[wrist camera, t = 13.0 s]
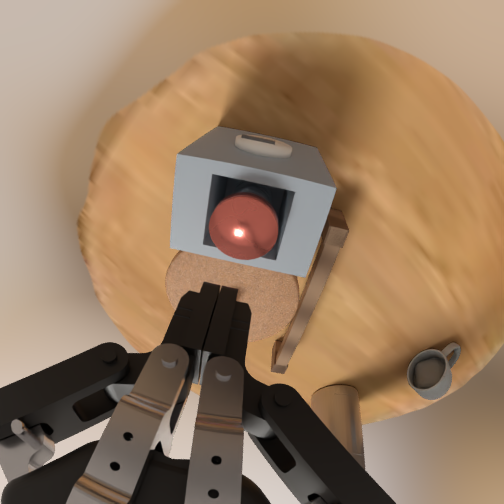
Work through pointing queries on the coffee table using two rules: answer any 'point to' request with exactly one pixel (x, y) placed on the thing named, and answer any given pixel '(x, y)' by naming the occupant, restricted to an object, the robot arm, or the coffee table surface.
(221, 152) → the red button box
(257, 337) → the lidded bowl
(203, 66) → the coffee table surface
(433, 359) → the ceramic mug
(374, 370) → the coffee table surface
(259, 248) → the plunger
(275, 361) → the brown curved bar
